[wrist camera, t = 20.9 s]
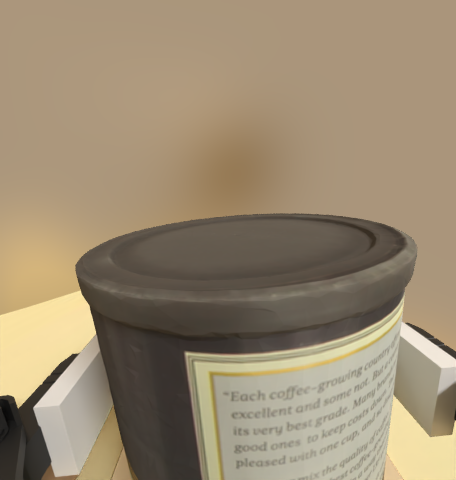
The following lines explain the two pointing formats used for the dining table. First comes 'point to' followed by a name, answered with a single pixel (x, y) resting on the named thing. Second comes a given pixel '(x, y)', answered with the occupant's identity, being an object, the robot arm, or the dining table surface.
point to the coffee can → (252, 344)
